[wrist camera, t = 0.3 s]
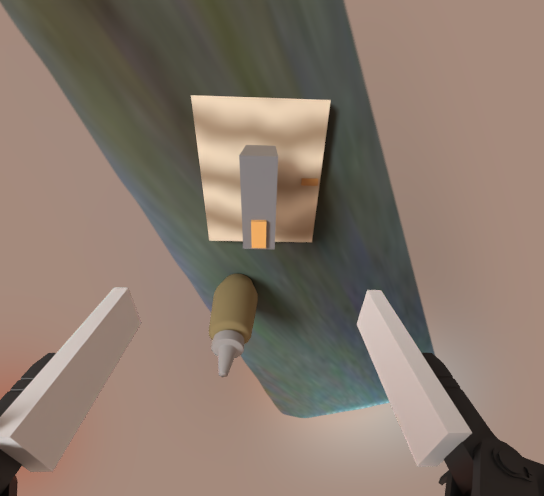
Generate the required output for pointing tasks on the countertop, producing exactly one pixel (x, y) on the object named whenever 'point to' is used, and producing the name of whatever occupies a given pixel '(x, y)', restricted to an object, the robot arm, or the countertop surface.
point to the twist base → (261, 131)
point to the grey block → (258, 195)
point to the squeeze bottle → (232, 319)
